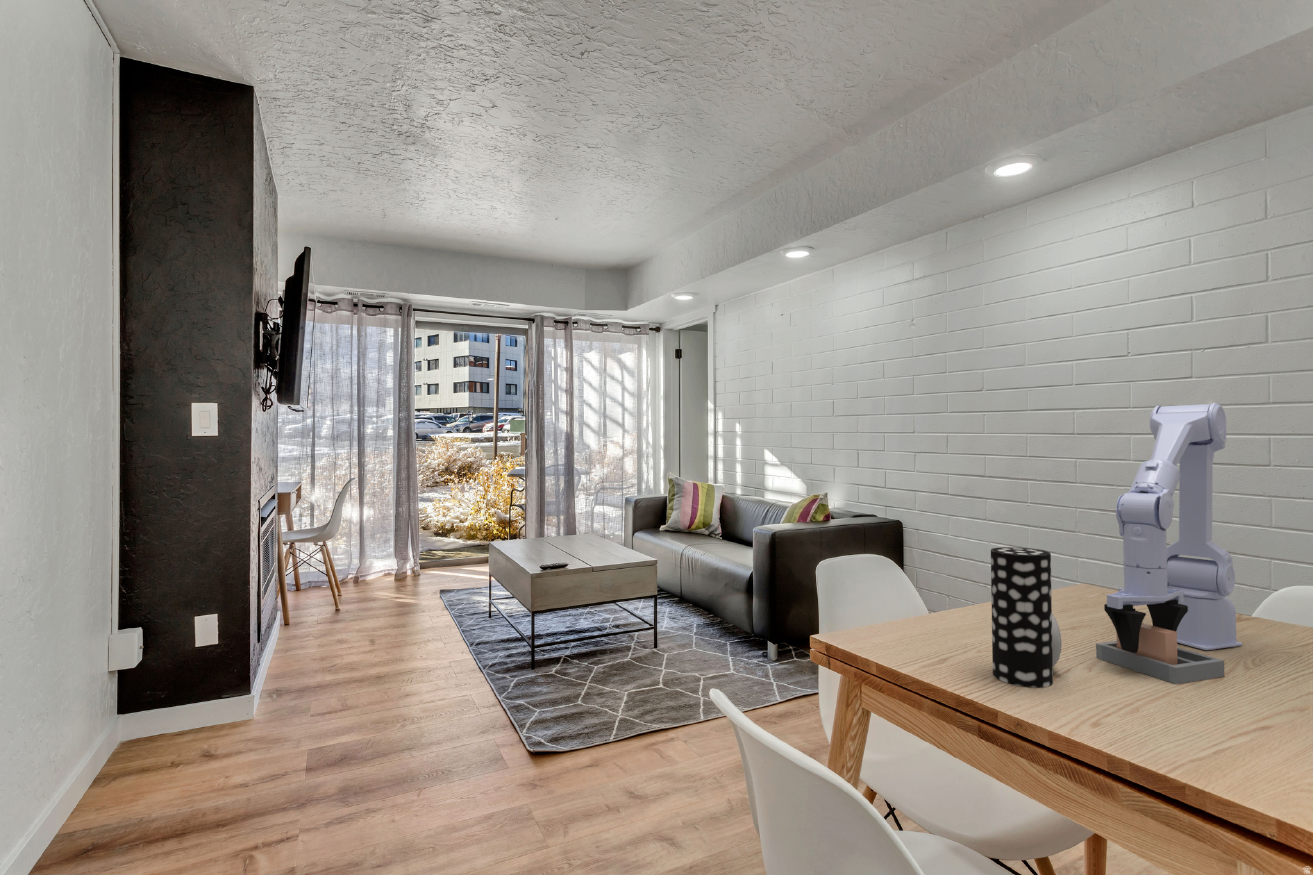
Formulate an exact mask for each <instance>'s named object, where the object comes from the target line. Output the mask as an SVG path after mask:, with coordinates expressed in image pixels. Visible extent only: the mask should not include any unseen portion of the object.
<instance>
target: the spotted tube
mask: <svg viewBox="0 0 1313 875" xmlns="http://www.w3.org/2000/svg"><path fill="white" fill-rule="evenodd" d="M1051 555H1052V554H1051V552H1050V551H1046V550H1043V549H1036V548H1030V547H1029V548H1028V547H1015V546H1013V547H1011V546H1009V547H1007V546H1006V547H1005V546H1003V547H993V548H991V549H990V582H991V584H990V589H991V592H990V593H991V595H990V596H991V645H992V646H991V650H992V651H991V652H992V654H991V656H992V660H991V661H992V676H993V677H994V678H995V679H997V680H999V681H1001V682H1004V683H1007V684H1010V685H1014V686H1018V687H1024V688H1038V689H1039V688H1047V687H1050V686H1052V685H1053V683H1054V672H1053V671H1054V669H1053V667H1054V666H1053V656H1052V614H1053V613H1052V610H1053V608H1052V607H1053V605H1052V602H1053V601H1052V556H1051Z"/></svg>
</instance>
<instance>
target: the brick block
mask: <svg viewBox="0 0 1313 875" xmlns="http://www.w3.org/2000/svg"><path fill="white" fill-rule="evenodd" d="M1116 641H1117V648H1119V649H1122V648H1121V645H1120V641H1119V638H1118V635H1117V634H1116ZM1177 648H1178V643H1177V632H1175V631H1171V630H1167V629H1163V628H1160V627H1156V626H1153V624H1152V625H1151V624H1148V623H1143V622H1142V625H1141V628H1140V633H1139V647H1138V651H1137V653H1136V654H1139V655H1142V656H1145V657H1149V658H1152V659H1155V660H1159V661H1162V662H1165V663H1169V664H1172V665H1177V664H1178V661H1177Z"/></svg>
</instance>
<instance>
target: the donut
mask: <svg viewBox="0 0 1313 875" xmlns="http://www.w3.org/2000/svg"><path fill="white" fill-rule="evenodd" d="M1061 653H1062V636H1061V629H1060V627H1059V624H1058V621H1057V618H1056V617H1055V615H1054V613H1052V656H1053V667H1054V666H1055V665H1056V664H1057V663H1058V661H1059V660H1060V656H1061Z"/></svg>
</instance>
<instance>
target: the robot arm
mask: <svg viewBox="0 0 1313 875" xmlns="http://www.w3.org/2000/svg"><path fill="white" fill-rule="evenodd" d="M1149 428H1150V431H1151V434H1152V435H1153V437H1154V438H1153V439H1154V440H1155V441H1154V445H1153V449H1152V452H1151V457H1150V459H1149V460H1146V461H1143V462H1142V463H1140V465H1139V467H1138V469H1137V471H1136V474H1135V477H1134V479H1133V481H1132V483H1131V486H1130V488H1129V490H1128V492H1125V493H1124V494H1121V495H1119V496H1118V498H1117V501H1116V506H1115V517H1116V521H1117V523H1118V531H1119V536H1120V537H1122V543H1123V546H1122V548H1123V550H1122V551H1123V552H1122V553H1123V587H1119V588H1118V591H1117V592H1113V593H1110V594H1108V593H1107V594H1106V603H1105V604H1104V606H1103V608H1104V610H1103V611H1104V612H1105V613H1106V614H1107V616H1108V617H1109V619H1110V621H1111V623H1112V625H1113V627H1114V629H1115V631H1116V636H1117V635H1118V638H1119V641H1120V645H1121V648H1122V650H1125V651H1128V652H1132V653H1137V651H1138V647H1139V633H1140V628H1141V625H1142V623H1143V621H1144V619H1145V617H1146V615H1147V614H1146V612H1144V611H1143V612H1142V611H1140V610H1139V611H1138V610H1136V608H1135V606H1136V607H1138V606H1146V607H1147V610H1148V612H1149V614H1150V618H1151V622H1152V626H1156V627H1160V628H1163V629H1167V630H1171V631H1175V632H1177V644H1181V645H1185V646H1187V647H1188V646H1189V647H1192V648H1197V649H1199V650H1203V651H1211V650H1217V649H1218V650H1219V649H1224V648H1225V649H1226V648H1232V647H1239V646H1243V642H1241V641H1237V614H1236V612H1237V611H1236V608H1235V606H1234V604H1233V601H1231V599H1230V598H1228V596H1229V595H1231V594H1232V593H1233V591H1234V588H1235V583H1236V574H1235V568H1234V566H1233V557H1232V554H1230V552H1228V551H1227V550H1225V549H1224V548H1223V547H1221V546H1220V545H1218V544H1217V543H1215V542H1214V541H1213V463H1214V458H1215V452H1218V451H1221V450H1223V449H1225V448H1226V442H1227V416H1226V413H1225V409H1224V407H1223V406H1222V405H1220V404H1219V403H1217V402H1213V403H1208V404H1207V403H1203V404H1186V405H1185V404H1182V405H1156V406H1155V407H1154V408H1153V409H1152V411H1151V412H1150V415H1149ZM1178 464H1179V468H1178V467H1177V465H1178ZM1178 484H1179V488H1178V489H1179V492H1178V493H1179V494H1178V495H1179V496H1178V497H1179V498H1178V500H1179V501H1178V505H1179V507H1178V511H1179V512H1178V540H1177V541H1175V542H1173V543H1171V544H1169V545H1167V530H1168V529H1169V528H1170V526H1171V524H1172V521H1173V514H1174V505H1175V502H1174V498H1173V496H1174V494H1175V491H1176V489H1177V486H1178ZM1185 556H1187V557H1185ZM1192 557H1193V558H1192ZM1195 557H1198V558H1195ZM1203 558H1205V559H1203ZM1206 558H1207V559H1206ZM1210 559H1211V560H1210Z"/></svg>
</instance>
